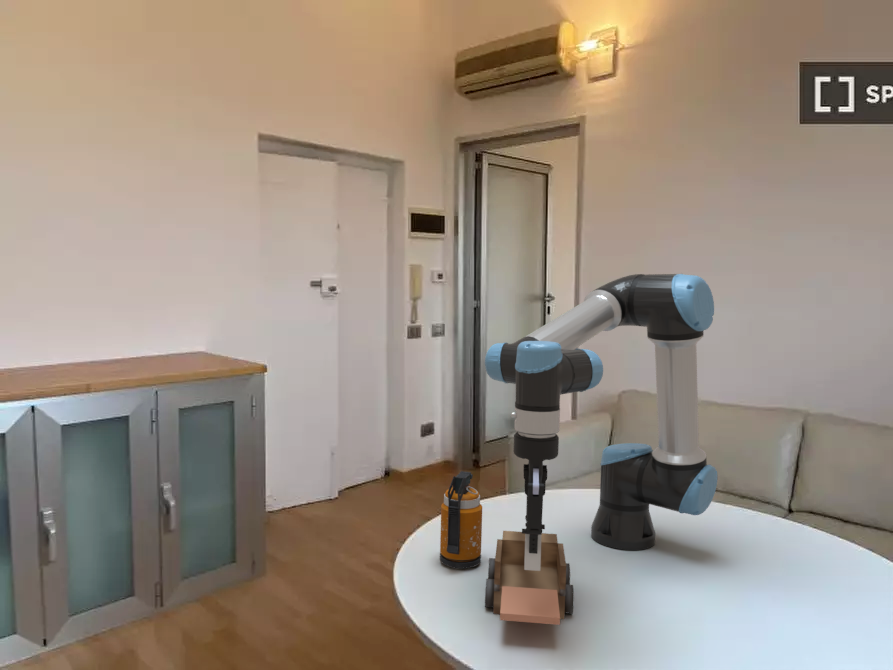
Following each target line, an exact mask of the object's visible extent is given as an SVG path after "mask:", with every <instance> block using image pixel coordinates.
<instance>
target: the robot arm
mask: <svg viewBox="0 0 893 670" xmlns="http://www.w3.org/2000/svg"><path fill="white" fill-rule="evenodd" d="M714 302H715V301H714V297H713V292H712V290H711V288H710V286H709V284H708V283H707V282H706V280H705V279H703V278H702V277H701V276H699V275H695V274H693V275H692V274H683V273H663V274H661V273H660V274H659V273H658V274H657V273H656V274H655V273H654V274H650V273H649V274H644V273H640V274H637V273H635V274H629V275H626V276H622V277H619V278H617V279H614V280H612V281H609V282H607V283H605V284H603V285H601V286H599V287H597V288H596V289H594V290H592V291H590V292H588V294H587V295H586V296H585V297H584V299H583V301H582V302H581V303H579V304H578V305H576V306H574V307H572V308H571V309H569V310H567V311H566V312H564V313H563V314H562V313H561V315H559V316H557V317H555V318H554V319H552V320H550V321H549V322H547V323H546V324H544V325H542V326H540V327H538V328H537V329H535V330H533V331H532V332H531V333H529V334H527V335H525V336H524V337H522V338H520V339H518V340H517V341H514V342H511V343H509V342H497V343H494V344H492V345H491V346H490V347H489V349H488V350H487V352H486V353H485V357H484V367H485V371H486V374H487V376H489V378H490V379H492V380H494V381H498V382H501V383H504V384H513V385H515V401H514V407H515V408H514V410H515V412H511V414H510V417H511V418H512V419H514V430H515V431H516V432H515V433H514V434H513V454H514V455H515V456H516V457H517V458H520V459H523V460H528V463H523V479H524V494H525V495H526V506H525V507H526V508H525V509H526V510H525V513H526V515H525V525H524V526H525V527H526V528H521V532H522V534H525V560H524V570H534V571H540V566H541V534H542V533H543V530H545V529H546V526H545V525H546V524H543V509H544V508H543V505H544V504H543V503H544V496H545V495H546V484H547V483H546V481H547V479H548V465H545V464H544V463H543V462H545V461H551V460H554V459H556V458H557V457H558V456H559V446H560V445H559V443H560V442H559V439H560V438H559V435H558V433H559V432H560V426H561V425H560V424H561V423H560V421H561V419H560V418H561V408H560V407H561V405H560V404H561V395H564V394H565V395H566V394H571V393H582V392H586V391H588V390H590V389H593V388H595V387H596V386H598V385H599V383H600V382H601V381H602V379H603V376H604V365H603V361H602V360H601V358H600V356H599V355H598V354H597V353H596V352H594V351H593V350H590V349H589V348H588V349H585V348H578V347H580V346H581V345H584V344H585V343H586V342H587V341H589V340H591V339H593V338H594V337H595V336H597V335H598V334H599V333H602V331H603V332H609V331H612V330H615V329H616V328H617V327H623V326H625V327H627V326H632V327H633V326H634V327H645V328H646V333H647V337H646V338H647V339H648V340H649V341H650V342H651V343H653V344H654V351H655V352H654V353H655V354H654V357H655V380H656V383H655V384H656V408H657V411H656V412H657V432H658V433H657V435H658V437H657V438H658V446H657V447H655V449H653V448H652V446H651V445H649V444H647V443H640V442H639V443H636V442H635V443H634V442H633V443H632V442H631V443H630V442H628V443H615V444H611V445H609V446H606V447H605V448H604V449H603V450H602V453H601V462H600V481H599V482H600V485H599V487H600V488H599V489H600V492H599V505H598V508H597V511H596V513H595V516H594V519H593V522H592V523H591V526H590V527H591V528H590V529H591V531H590V536H591V539H593V540H594V541H595V542H596V543H598V544H600V545H603V546H606V547H609V548H613V549H618V550H625V551H639V550H646V549H647V550H648V549H650V548H651V547H653V546H655V543H656V530H655V527H654V525H653V524H654V523H653V520H652V516H651V513H650V505H652V506H655V507H659V508H663V509H666V510H670V511H674V512H678V513H679V514H687V515H691V516H699V515H702V514H703V513H704V512H706V511H707V509H708V508H709V507H710V505H711V503H712V501H713V499H714V497H715V494H716V490H717V486H718V471H717V469H716V467H715V466H713V465H712V464H708V463H707V452H706V451H705V450H704V449H702V448H701V447H700V444H699V443H700V441H699V436H700V435H699V434H700V433H699V406H698V405H699V404H698V402H699V397H698V395H699V394H698V362H697V361H698V360H697V359H698V357H697V344H698V342H699V341H701V340H702V338H704V331H707V330H708V329H709V328H710V327H711V325H712V323H713V320H714V319H713V318H714V317H713V316H714V315H715V303H714Z"/></svg>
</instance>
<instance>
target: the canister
mask: <svg viewBox="0 0 893 670" xmlns="http://www.w3.org/2000/svg"><path fill="white" fill-rule="evenodd" d="M473 475H474V474H473V473H472V472H471V471H462V470H461V471H460V472H459V473H458V474H457V475H456V476H455V475H453V477H452V480H451V482H450V485H449V488H448V489H446V491H445V493H444V494H443V502H442V503H441V506H440V508H441V509H440V538H439V539H440V543H439V545H440V546H439V552H440V553H439V561H440V563H442V564H443V565H445V566H446V567H450V568H453V569H458V570H459V569H461V570H463V569H469V568H473V567H476V566H478V565H480V563H481V561H482V534H483V531H482V530H483V529H482V528H483V505H482V504H481V495H480V492H479V491H478V490H477V489H475V488H474V487H472V486H470V484H471V480H473Z"/></svg>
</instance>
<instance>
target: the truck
mask: <svg viewBox="0 0 893 670" xmlns="http://www.w3.org/2000/svg"><path fill="white" fill-rule="evenodd" d="M494 557H495V558H494ZM494 557H489V559H488V567H487V568H488V573H487V578H486V579H485V592H484V593H485V595H484V596H485V597H484V598H485V599H484V603H485V604H484V607H486V608H493V611H492V612H493V613H492V614H494V615H500V609H501V596H502V586H510V587H523V588H536V589H550V590H557V593H558V603H559V613H560V620H565V614H571V615H573V613H574V599H575V598H574V586H573V584H570V583H571V566H570V563H569V562H568V563H567V562H566V555H565V549H564V543H560V542H558V534H557V533H546V532H545V533H544V532H542V534H541V566H540V571H534V570H524V560H525V534H522V531H517V530H515V531H512V530H502V539H501V538H500V539H499V538H497V540H496V547H495V556H494Z"/></svg>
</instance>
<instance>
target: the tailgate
mask: <svg viewBox="0 0 893 670" xmlns="http://www.w3.org/2000/svg"><path fill="white" fill-rule="evenodd" d="M499 621H507V622H517V623H518V622H520V623H532V624H546V625H556V626H557V625H558V626H560V625H561V619H560V613H559V603H558V593H557V590H550V589H536V588H523V587H510V586H502V596H501V609H500V614H499Z"/></svg>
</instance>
